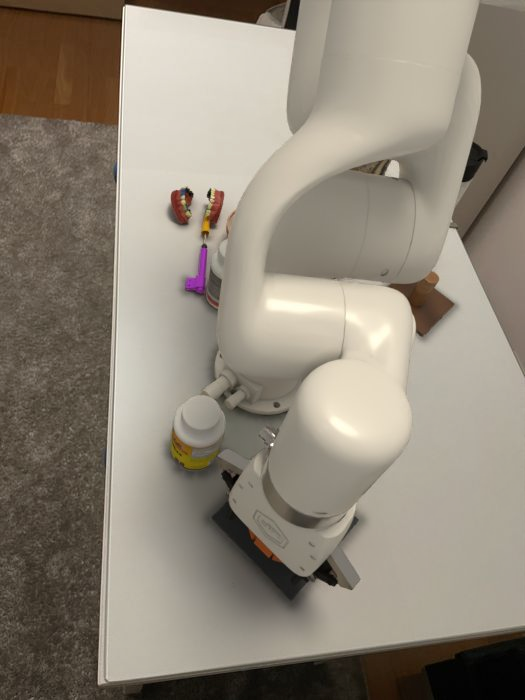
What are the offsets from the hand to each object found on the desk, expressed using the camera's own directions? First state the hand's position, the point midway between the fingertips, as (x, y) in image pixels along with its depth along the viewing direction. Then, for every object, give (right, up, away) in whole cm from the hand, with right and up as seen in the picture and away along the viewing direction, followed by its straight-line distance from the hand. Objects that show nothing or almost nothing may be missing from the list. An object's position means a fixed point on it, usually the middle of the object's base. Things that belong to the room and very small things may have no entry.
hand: (269, 539), depth 57 cm
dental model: (-6, +42, +27) cm, 50 cm away
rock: (+13, +55, +38) cm, 68 cm away
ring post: (+22, +27, +27) cm, 44 cm away
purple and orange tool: (-10, +34, +25) cm, 43 cm away
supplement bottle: (-9, +8, +8) cm, 14 cm away
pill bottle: (-6, +27, +21) cm, 35 cm away
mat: (+2, +1, +5) cm, 6 cm away
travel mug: (+23, +36, +33) cm, 54 cm away
